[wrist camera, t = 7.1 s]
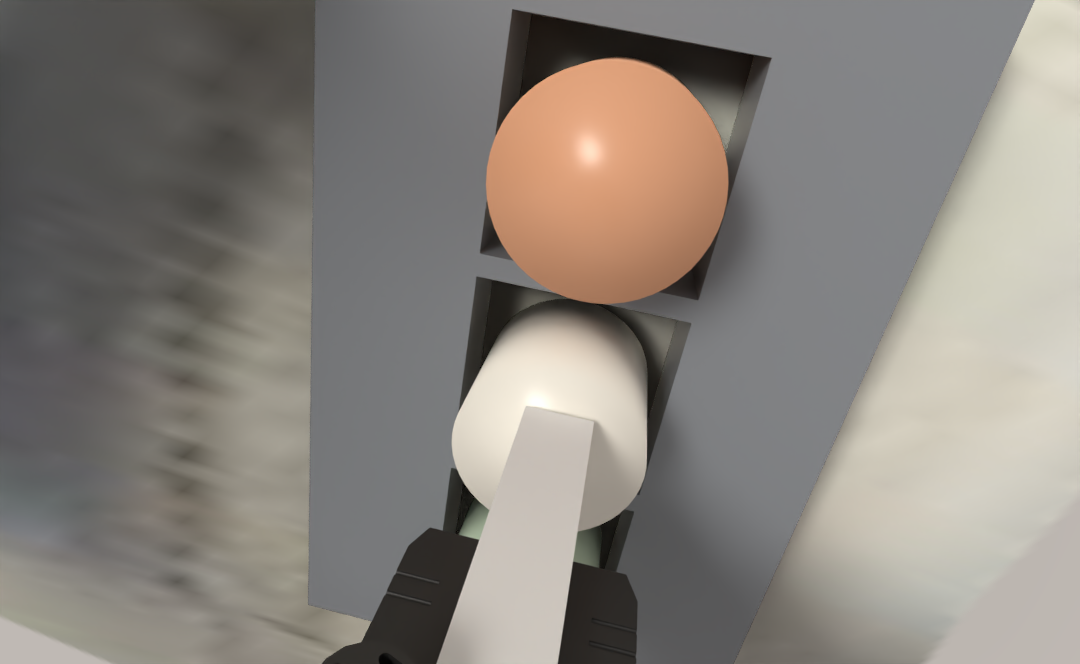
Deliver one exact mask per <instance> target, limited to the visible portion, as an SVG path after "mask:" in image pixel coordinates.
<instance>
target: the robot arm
mask: <svg viewBox="0 0 1080 664" xmlns="http://www.w3.org/2000/svg"><path fill="white" fill-rule="evenodd" d="M593 425H594V421H590V420H585V419H581V418H577V417H573V416H568V415H564V414H560V413H555V412H551V411H547V410H543V409H538V408H534V407H530V406H526V407H525V410H524V413H523V415H522V418H521V421H520V424H519V427H518V430H517V433H516V436H515V439H514V441H513V444H512V447H511V450H510V453H509V456H508V459H507V462H506V465H505V467H504V470H503V473H502V476H501V479H500V482H499V485H498V488H497V491H496V493H495V496H494V499H493V502H492V505H491V508H490V511H489V514H488V516H487V519H486V522H485V525H484V528H483V531H482V534H481V537H480V540H478V539H474V538H470V537H466V536H462V535H458V534H454V533H450V532H446V531H442V530H438V529H434V528H429V529H427V530H426V531H425V532H424V533H423V534H421V535H420V536H419V537H418V538H417V539H416V540H414V541H413V542H412V543H411V544H410V545H408V547H407V550H406V552H405V554H404V556H403V558H402V560H401V562H400V564H399V566H398V568H397V571H396V574H395V575H394V576H393V578H392V581H391V583H390V585H389V587H388V589H387V592H386V595H384V597H383V599H382V601H381V603H380V605H379V607H378V609H377V611H376V614H375V616H374V618H373V620H372V622H371V624H370V626H369V628H368V630H367V632H366V634H365V636H364V638H363V640H362V642H361V643H357V644H353V645H349V646H345V647H343V648H342V649H340V650H339V651H337V652H336V653H334V654H333V655H331V656H329V657H328V658H326V659H325V661H324V662H323V663H322V664H636V652H637V635H636V632H637V610H638V601H637V599H636V596H635V594H634V591H633V589H632V587H631V584H630V582H629V580H628V577H627V575H626V574H622V573H618V572H614V571H610V570H606V569H602V568H598V567H594V566H590V565H586V564H582V563H578V562H574V561H573V558H574V551H575V545H576V538H577V532H578V525H579V518H580V512H581V505H582V498H583V492H584V485H585V478H586V472H587V465H588V458H589V452H590V445H591V438H592V432H593Z"/></svg>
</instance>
